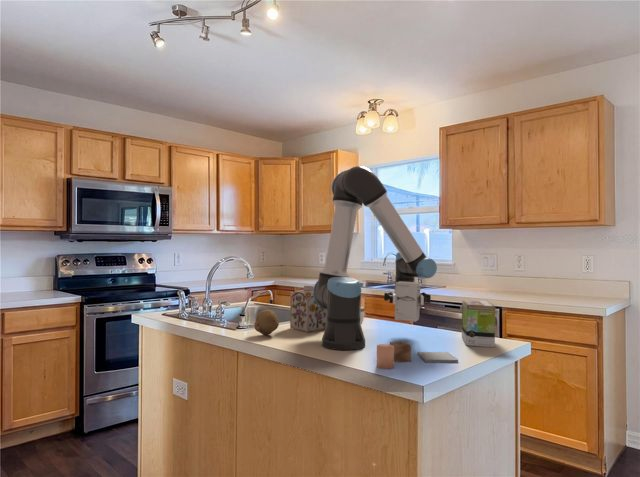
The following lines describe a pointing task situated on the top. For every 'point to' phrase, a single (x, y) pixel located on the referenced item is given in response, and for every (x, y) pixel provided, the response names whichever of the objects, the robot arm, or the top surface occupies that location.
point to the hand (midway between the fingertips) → (408, 300)
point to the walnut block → (401, 351)
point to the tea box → (478, 323)
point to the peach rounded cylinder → (385, 356)
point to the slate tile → (437, 357)
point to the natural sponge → (266, 322)
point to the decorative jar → (306, 311)
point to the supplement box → (407, 301)
